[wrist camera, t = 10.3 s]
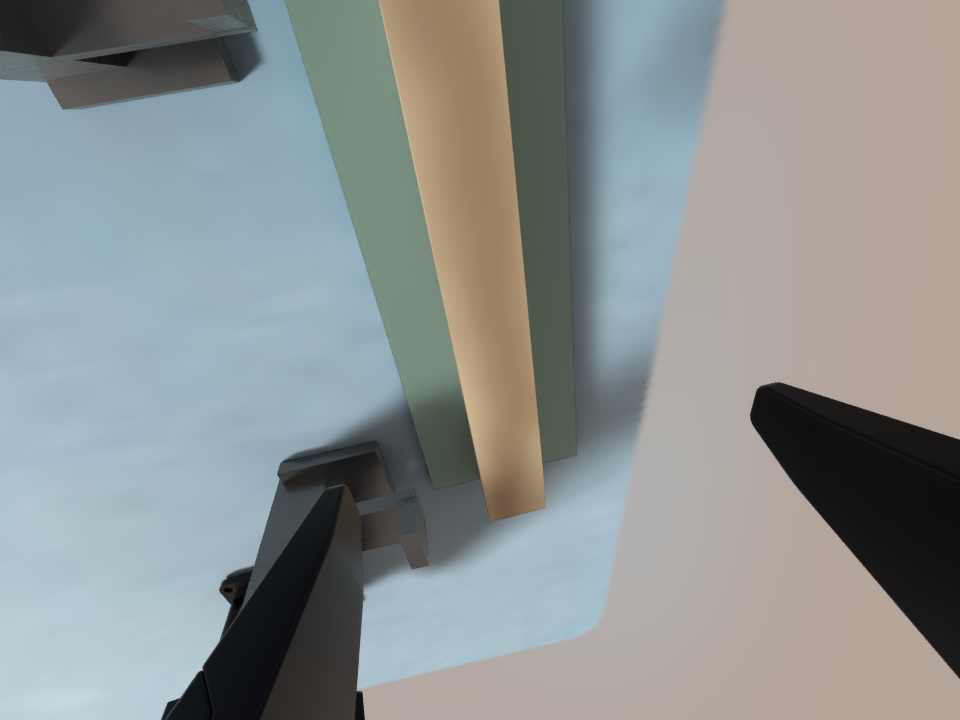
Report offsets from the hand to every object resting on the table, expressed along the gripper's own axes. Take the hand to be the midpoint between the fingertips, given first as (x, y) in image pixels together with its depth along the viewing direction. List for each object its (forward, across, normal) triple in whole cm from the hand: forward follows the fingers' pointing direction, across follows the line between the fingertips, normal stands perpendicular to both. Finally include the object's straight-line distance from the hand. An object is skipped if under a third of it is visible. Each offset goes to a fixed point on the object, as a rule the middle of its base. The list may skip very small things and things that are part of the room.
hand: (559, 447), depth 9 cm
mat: (+11, 0, 0) cm, 11 cm away
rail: (+11, 0, 0) cm, 11 cm away
